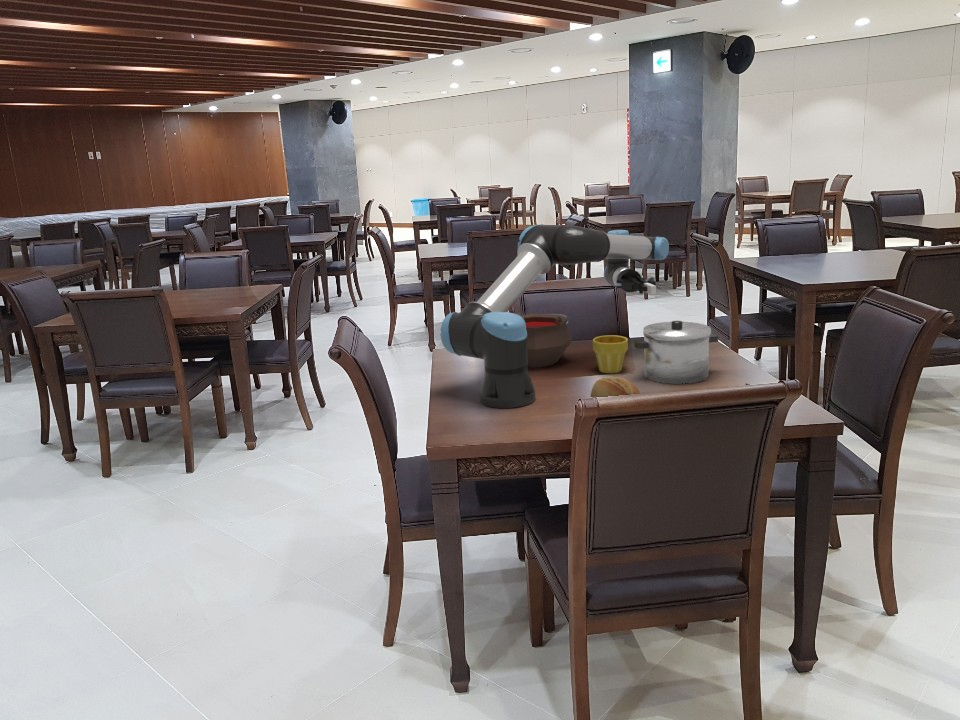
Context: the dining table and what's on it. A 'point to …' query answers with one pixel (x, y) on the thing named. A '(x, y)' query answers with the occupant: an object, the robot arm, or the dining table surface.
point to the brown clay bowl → (545, 338)
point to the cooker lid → (677, 331)
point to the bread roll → (613, 387)
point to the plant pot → (610, 352)
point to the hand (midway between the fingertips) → (653, 290)
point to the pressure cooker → (676, 360)
